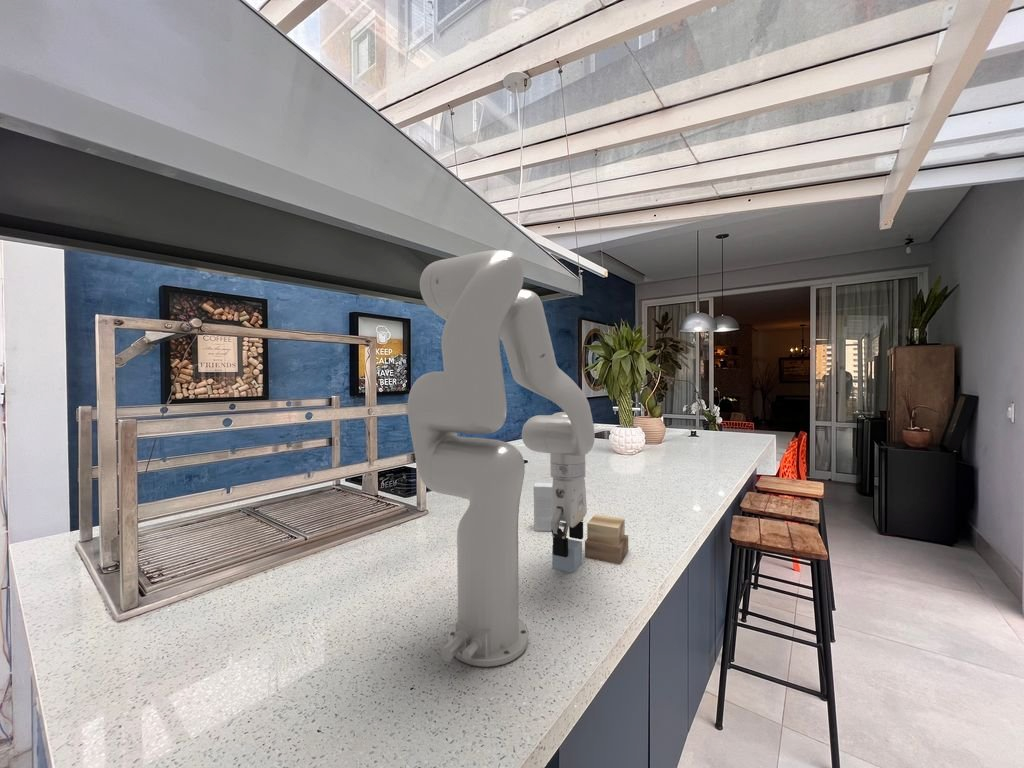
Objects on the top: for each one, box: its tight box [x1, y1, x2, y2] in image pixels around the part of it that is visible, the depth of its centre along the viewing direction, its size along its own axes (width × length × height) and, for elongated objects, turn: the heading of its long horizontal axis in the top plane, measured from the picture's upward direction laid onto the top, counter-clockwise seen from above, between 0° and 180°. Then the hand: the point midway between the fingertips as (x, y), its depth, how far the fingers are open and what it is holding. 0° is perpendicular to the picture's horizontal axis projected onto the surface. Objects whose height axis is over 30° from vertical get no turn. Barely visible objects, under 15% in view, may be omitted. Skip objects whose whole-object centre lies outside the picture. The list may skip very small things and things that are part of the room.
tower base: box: [584, 534, 629, 566], centre depth 98 cm, size 8×8×4 cm
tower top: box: [586, 513, 626, 546], centre depth 98 cm, size 7×7×4 cm
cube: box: [551, 538, 583, 574], centre depth 92 cm, size 5×5×5 cm
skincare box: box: [533, 482, 553, 532], centre depth 114 cm, size 6×4×12 cm
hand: (568, 546), depth 92 cm, fingers open, 9 cm apart
